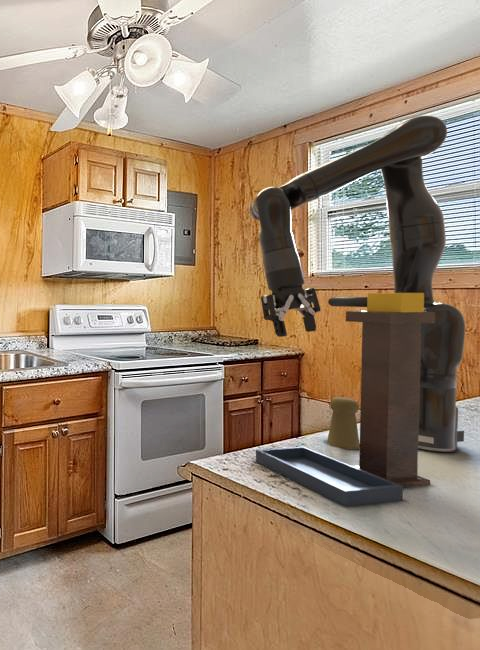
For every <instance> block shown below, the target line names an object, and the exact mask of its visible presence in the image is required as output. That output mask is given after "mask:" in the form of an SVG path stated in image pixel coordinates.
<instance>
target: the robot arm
mask: <svg viewBox="0 0 480 650" xmlns="http://www.w3.org/2000/svg"><path fill="white" fill-rule="evenodd" d="M447 135H448V127H447V124H446V123H445V122H444V121H443V120H442V119H441V118H440V117H437V116H433V115H419V116H415V117H412V118H409V119H406V120H405V121H403V122H401V123H400V124H397V125H396V126H395V127H393V128H391V129H390V130H389V131H387V132H386V133H384V134H383V136H382V137H380V138H378V139H377V140H374V141H373V142H371V143H368V144H367V145H365V146H363V147H361V148H358V149H356V150H354V151H351V152H349V153H347V154H345V155H342V156H340V157H337V158H335V159H333V160H330V161H328V162H326V163H323V164H322V165H319V166H316V167H314V168H312V169H310V170H308V171H305V172H303V173H301V174H299V175H296V176H295V177H293V178H292V179H291V180H289V181H288V182H287V183H285V184H283V185H280V186H279V187H278V186H269V187H266V188H264V189H262V190H261V191H260V192H259V193H258V194H257V195H256V196H255V197H254V198H253V199H252V201H251V202H250V205H249V206H248V207H249V208H248V210H249V211H248V212H249V214H250V216H251V217H252V218H253V219H254V220H255V221H259V223H260V224H259V227H260V232H259V234H258V241H259V247H260V251H261V257H262V266H263V270H264V276H265V280H266V284H267V289H268V290H269V291H271V294H270V293H269V294H265V295H261V296H260V302H261V303H260V304H261V308H262V314H263V319H264V320H265V321H270V322H272V324H273V329H274V333H275V335H276V336H277V337H278V338H283V337H287V336H288V333H287V329H286V324H285V320H284V318H285V315H286V314H287V313H288V311H289V310H295V311H297V312H299V313H300V314H301V315H302V316H303V317H302V320H303V325H304V329H305V332H307V333H308V332H316V331H317V324H316V319H315V315H316V313H319V312H321V309H322V308H321V305H320V303H319V302H320V301H319V298H318V295H317V291H316V289H315V288H314V287H310V288H303V285H305V277H304V273H303V269H302V268H303V267H302V264H301V259H300V256H299V253H298V251H297V248H296V243H295V239H294V234H293V232H292V210H294V209H296V208H298V207H300V206H302V205H304V204H307V203H311V202H313V201H315V200H318V199H319V198H322V197H324V196H327V195H329V194H331V193H333V192H336V191H337V190H340V189H342V188H343V187H346V186H348V185H349V184H352V183H353V182H355V181H358V180H359V179H362V178H363V177H366V176H368V175H370V174H372V173H375V172H376V171H379V170H381V176H382V179H383V184H384V188H385V189H384V190H385V198H386V199H385V200H386V209H387V219H388V235H389V244H390V251H391V260H392V273H393V274H392V275H393V282H394V283H393V284H394V289H393V290H394V292H393V293H424V312H435V323H422V325H421V362H420V399H419V437H418V450H424V451H429V452H437V453H453V452H454V451H456V449H458V443H460V442H465V430H463V429H458V428H459V408H458V406H457V380H458V379H457V377H458V374H457V373H458V367H460V364H461V363H462V361H463V357H464V347H465V339H466V321H465V318H464V315H463V314H462V311H460V309H458V308H457V307H455V306H454V305H451V304H449V303H442V302H435V299H434V291H433V280H434V274H435V272H436V270H437V268H438V266H439V263H440V261H441V258H442V256H443V254H444V252H445V248H446V243H447V242H446V241H447V239H446V238H447V237H446V225H445V219H444V214H443V211H442V209H441V207H440V206H439V204H438V203H437V201H436V200H435V198H434V197H433V195H432V194H431V193H430V191H429V190H428V189H427V186H426V184H425V180H424V172H423V158H426V157H427V156H430V155H432V154H433V153H434V152H435V151H437V150H438V149H439V148H441V146H442V145H443V144H444V142H445V141H446V139H447Z"/></svg>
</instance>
